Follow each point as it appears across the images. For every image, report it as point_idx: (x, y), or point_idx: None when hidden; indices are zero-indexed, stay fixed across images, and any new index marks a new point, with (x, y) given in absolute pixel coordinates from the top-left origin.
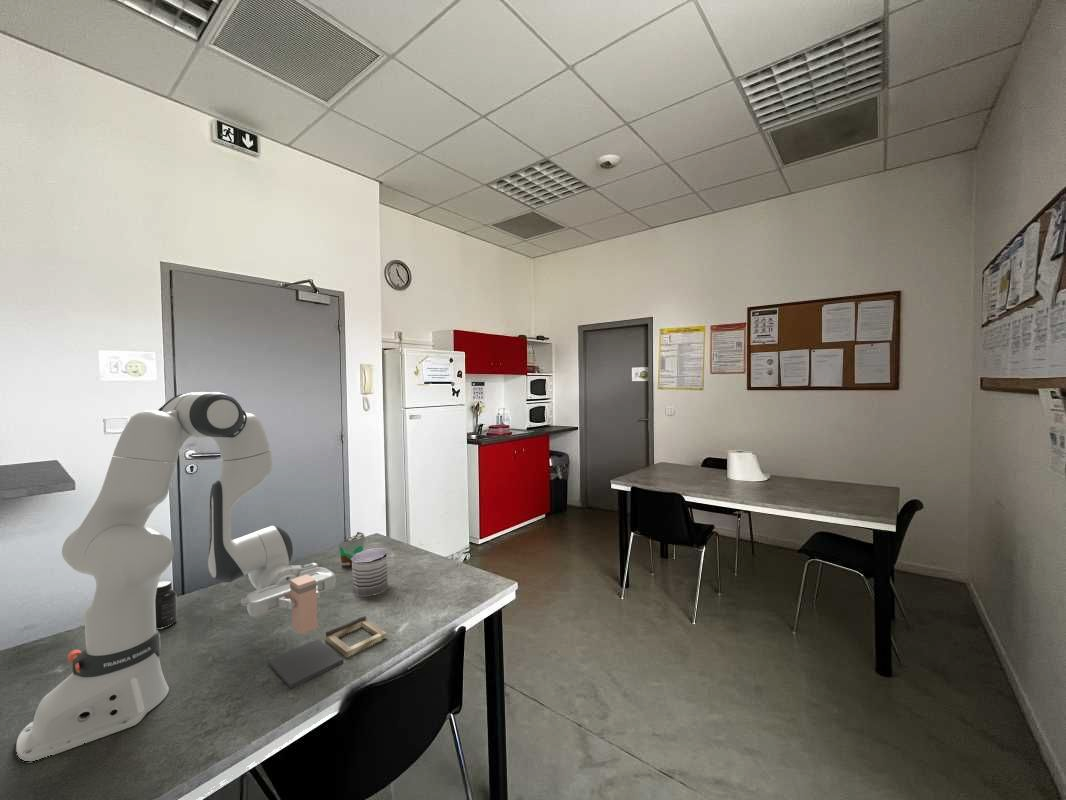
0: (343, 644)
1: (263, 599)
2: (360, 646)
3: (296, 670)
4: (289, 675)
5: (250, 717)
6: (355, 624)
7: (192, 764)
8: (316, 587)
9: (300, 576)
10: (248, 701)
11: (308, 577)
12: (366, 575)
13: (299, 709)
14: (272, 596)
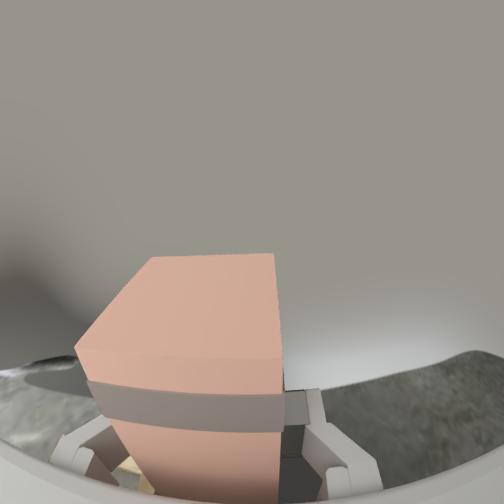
0: (141, 491)
1: (494, 456)
2: None
3: (293, 500)
4: (316, 491)
5: (407, 419)
6: None
7: (467, 369)
8: (82, 432)
9: (145, 352)
10: (411, 466)
11: (138, 294)
12: None
13: (327, 392)
14: (435, 479)
